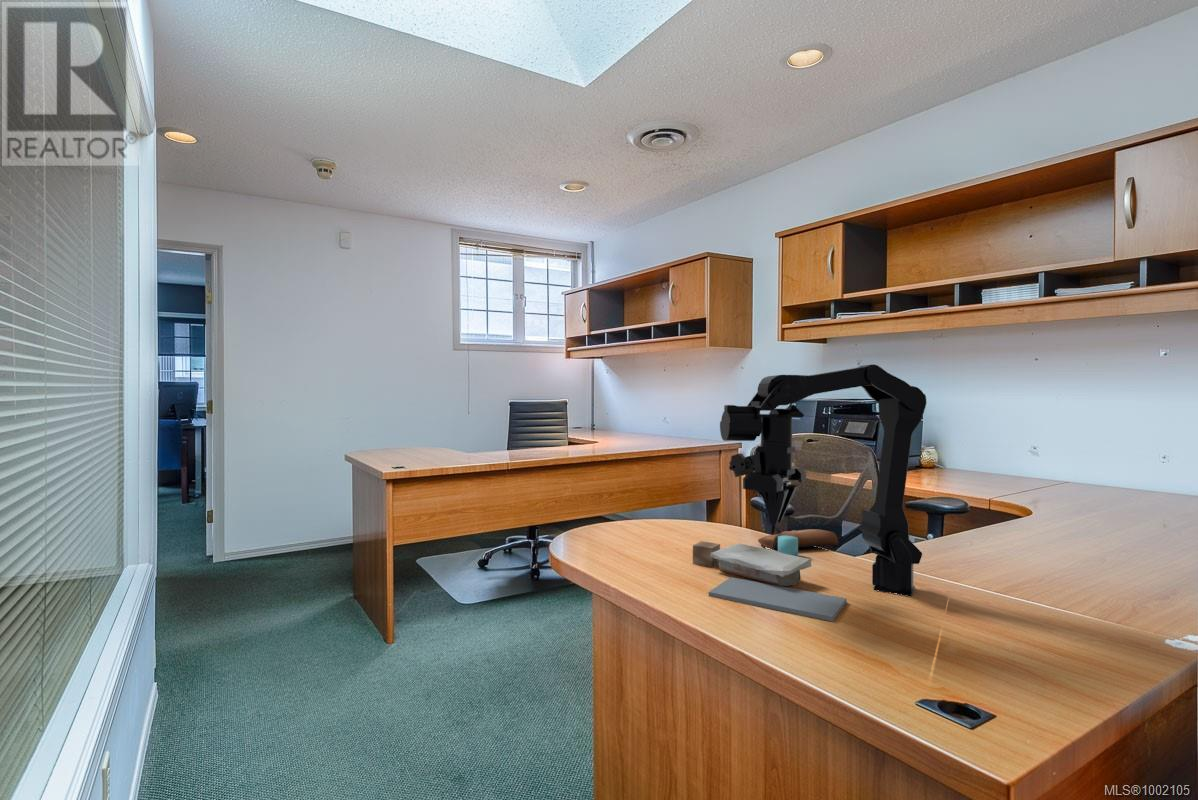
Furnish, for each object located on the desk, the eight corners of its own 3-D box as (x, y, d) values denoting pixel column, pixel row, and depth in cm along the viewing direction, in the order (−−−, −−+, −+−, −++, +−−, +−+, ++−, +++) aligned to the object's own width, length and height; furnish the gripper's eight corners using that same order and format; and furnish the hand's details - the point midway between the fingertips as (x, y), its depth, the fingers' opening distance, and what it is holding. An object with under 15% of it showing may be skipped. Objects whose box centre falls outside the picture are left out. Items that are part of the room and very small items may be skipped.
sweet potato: (816, 535, 153) (826, 518, 149) (830, 557, 147) (841, 540, 143) (755, 539, 147) (764, 522, 144) (767, 562, 142) (777, 545, 138)
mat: (846, 602, 106) (846, 598, 106) (832, 621, 97) (832, 616, 97) (730, 581, 119) (730, 577, 119) (708, 596, 110) (708, 591, 110)
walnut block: (719, 564, 131) (719, 544, 131) (711, 568, 128) (711, 548, 128) (701, 560, 134) (701, 541, 134) (692, 565, 130) (692, 545, 130)
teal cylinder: (800, 556, 138) (800, 537, 138) (795, 560, 134) (795, 540, 134) (780, 553, 141) (780, 534, 141) (775, 557, 137) (775, 538, 137)
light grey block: (739, 562, 131) (710, 573, 125) (738, 541, 131) (709, 551, 125) (813, 582, 117) (784, 595, 111) (812, 558, 117) (783, 570, 111)
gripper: (753, 436, 124) (752, 511, 124) (716, 441, 109) (715, 526, 109) (807, 439, 118) (806, 517, 118) (776, 444, 103) (775, 534, 103)
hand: (775, 523), depth 112 cm, fingers closed
